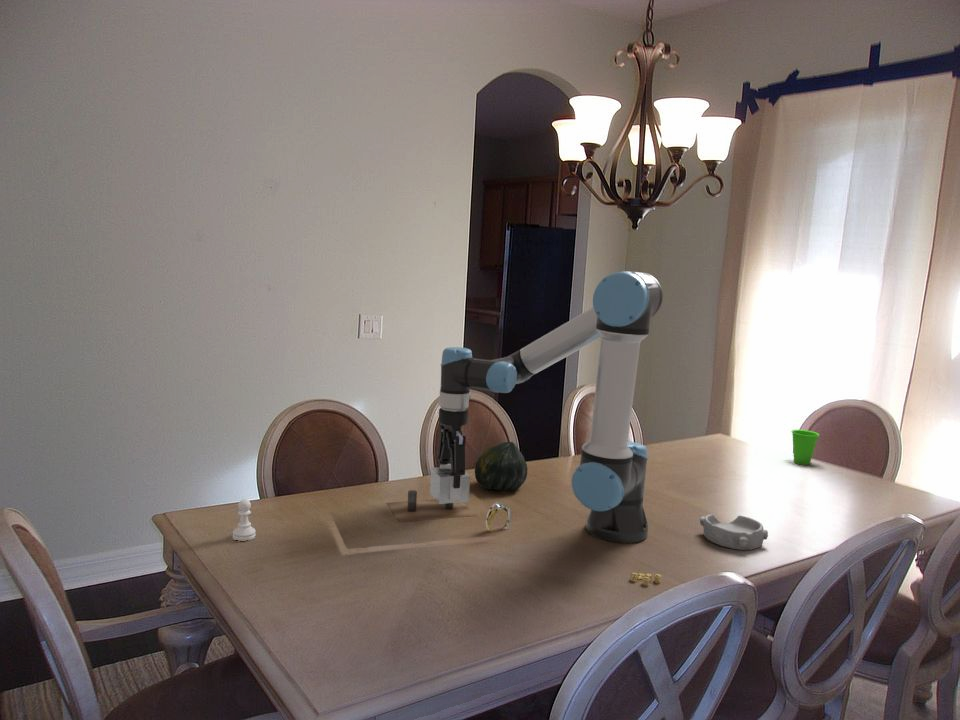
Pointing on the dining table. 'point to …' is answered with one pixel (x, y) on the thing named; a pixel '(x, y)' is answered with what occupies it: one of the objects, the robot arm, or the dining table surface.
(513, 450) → the squash
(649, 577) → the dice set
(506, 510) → the bracelet
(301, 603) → the dining table surface
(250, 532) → the chess pawn
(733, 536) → the dish
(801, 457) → the cup
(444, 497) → the white open box
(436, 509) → the peg board
